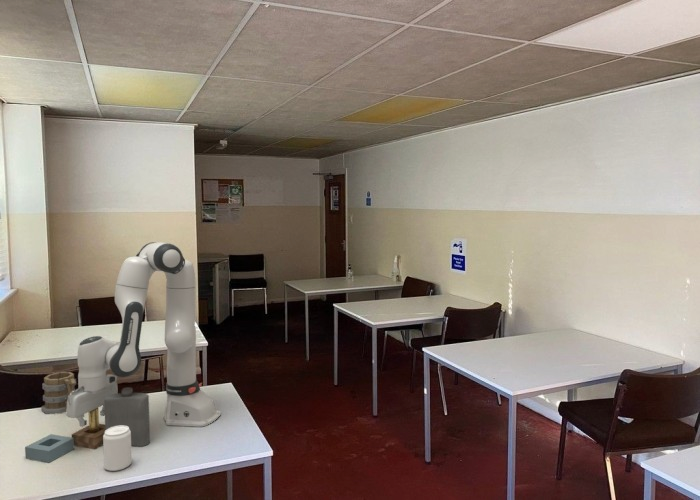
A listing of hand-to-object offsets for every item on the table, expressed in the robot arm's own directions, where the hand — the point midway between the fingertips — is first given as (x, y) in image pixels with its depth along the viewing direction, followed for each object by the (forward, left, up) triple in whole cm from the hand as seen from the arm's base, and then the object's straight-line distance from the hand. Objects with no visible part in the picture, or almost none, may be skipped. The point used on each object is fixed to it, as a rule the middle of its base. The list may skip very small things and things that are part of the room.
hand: (93, 420), depth 176 cm
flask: (-13, -2, -8) cm, 15 cm away
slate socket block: (+7, +12, -8) cm, 16 cm away
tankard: (+34, -19, -8) cm, 40 cm away
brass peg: (0, 0, -8) cm, 8 cm away
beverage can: (-21, +12, -8) cm, 25 cm away
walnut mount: (0, 0, -8) cm, 8 cm away
